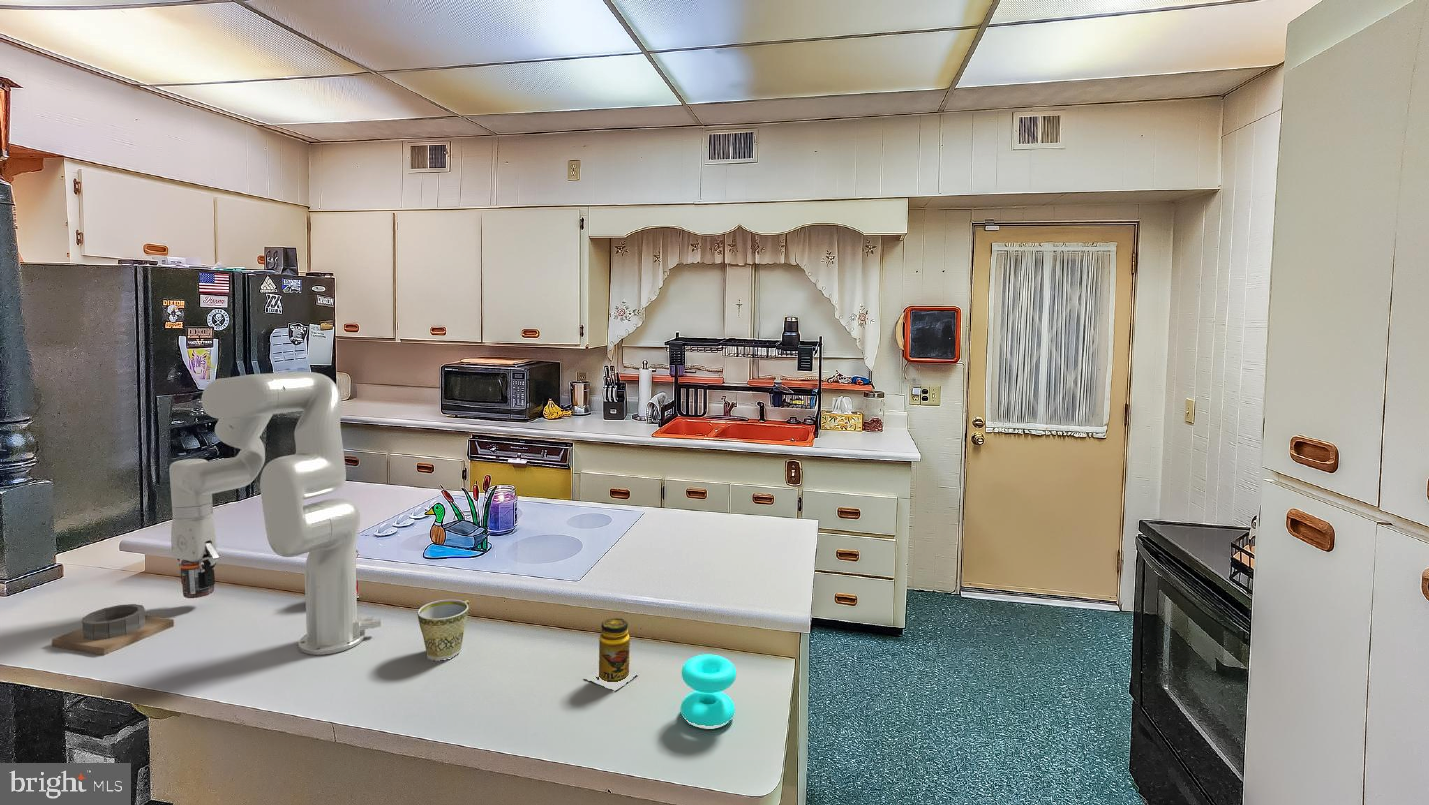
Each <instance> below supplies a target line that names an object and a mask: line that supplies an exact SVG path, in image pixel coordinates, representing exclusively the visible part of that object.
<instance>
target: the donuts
mask: <svg viewBox="0 0 1429 805" xmlns="http://www.w3.org/2000/svg"><path fill="white" fill-rule="evenodd" d="M681 677H682V680H683V682H684V684H685V685H687V686H688V687H689V688H690V689H692V690H694V691H691V692H690V693H689V694H687V695H686V696H685V697H684V698H683V700H682V701H681V704H680V714H682V715H681V717H682V716H684V718H686V720H688V721H689V722H691V723H695V724H697V725H705V726H714V725H721V724H723V723H726V722H727V721H730V719H731V718H732V717H733V716H735V714H736V708H735V704H734V701H733V700H732V699H731V697H730V696H729V695H727V694H726V693H724V692H723V691H726V690H727V689H728V688H731V686H732V685H733V684H734V683H735V681H736V678H737V669H736V667H735V664H734V663H733V662H732V661H730V660H729V659H727V658H726V657H723V656H721V655H717V654H699V655H695V656H693V657H690V658H689V659H688V660H686V661H685V662H684V664H683V666H682V668H681ZM734 713H735V714H734ZM733 718H734V717H733ZM730 722H731V721H730Z"/></svg>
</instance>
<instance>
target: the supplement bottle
mask: <svg viewBox="0 0 1429 805" xmlns="http://www.w3.org/2000/svg"><path fill="white" fill-rule="evenodd" d="M205 557H207V555H204V556H203V557H202V558H205ZM207 561H208V560H205V561H203V564H204V565H205V563H206V562H207ZM180 569H181V570H180V576H181V575H182V583H181V585H182V594H183V597H184V598H186V599H198V598H202V597H206V596H207V597H208V596H209V595H210V594H212V593H214V592H215V584H214V585H212V586H209V587H206V588H203V589H200V588H199V582H198V572H200V570H199V567H198V563H197V562H191V561H186V560H182V561H181V568H180Z"/></svg>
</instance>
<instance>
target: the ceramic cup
mask: <svg viewBox="0 0 1429 805" xmlns="http://www.w3.org/2000/svg"><path fill="white" fill-rule="evenodd" d="M470 604H471V603H470V600H468V599H462V600H459V599H442V600H436V601H431V602H428V603H426V604H424V605H422V606H421V607H420V608H419V609H418V610H417V618H418V619H417V620H418V624H419V627H420V630H421V634H422V638H423V642H424V646H425V653H426V657H427V659H428V660H429V659H431V660H430V661H433V660H435V661H434V662H437V661H439V662H441V661H440V660H444V659H448V658H452V657H453V656H455V655H457V654H458V653H461V650H462V645H463V644H462V643H463V638H464V633H465V629H466V628H465V627H466V625H467V624H466V623H467V618H468V614H469V609H470V606H471V605H470ZM458 655H459V654H458ZM458 655H457V656H458ZM455 657H456V656H455ZM452 659H453V658H452ZM444 661H445V660H444Z"/></svg>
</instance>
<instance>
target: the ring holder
mask: <svg viewBox="0 0 1429 805" xmlns="http://www.w3.org/2000/svg"><path fill="white" fill-rule="evenodd" d="M145 612H146V610H145V606H144V605H142V604H136V603H130V604H119V605H113V606H108V607H105V608H101V609H99V610H95V611H92V612H90V613H88V614H86V615H85V616H84V617H82V618H81V619H82V620H81V622H82V627H81V628H78V629H76V630H73V631H70V632H67V633H65V634H62V635H59V636H57V637H54V638H52V639H51V646H52V647H56V648H61V649H67V650H72V651H79V652H84V653H89V654H95V655H100V654H102V655H101V656H106V655H108V654H110V653H109V652H111V653H113V652H116V651H117V650H116V649H118V650H119V649H123V648H125V647H127V646H129V645H132V644H134V643H137V642H139V641H141V640H144V639H146V638H148V637H149V638H150V637H151V636H153V635H156V634H158V633H160V632H163V631H166V630H168V629H171V628H172V627H175V619H172V618H171V619H170V618H165V617H159V616H153V615H147V614H146V613H145ZM105 654H106V655H105Z"/></svg>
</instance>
